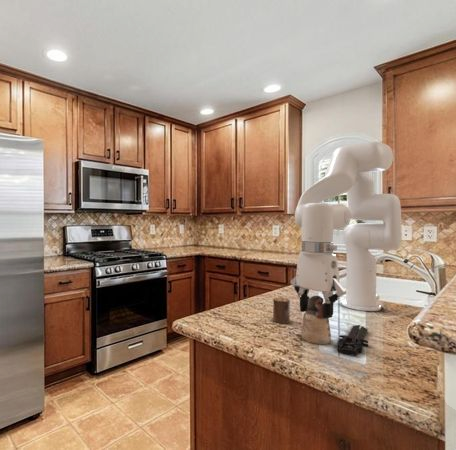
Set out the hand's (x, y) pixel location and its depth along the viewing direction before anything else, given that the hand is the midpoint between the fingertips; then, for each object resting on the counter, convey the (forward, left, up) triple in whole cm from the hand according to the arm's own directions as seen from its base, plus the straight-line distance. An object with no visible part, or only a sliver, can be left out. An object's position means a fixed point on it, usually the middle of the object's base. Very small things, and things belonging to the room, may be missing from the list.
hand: (315, 313), depth 85 cm
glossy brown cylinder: (-5, -15, -7) cm, 17 cm away
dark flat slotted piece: (-9, +5, -7) cm, 13 cm away
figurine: (0, 0, -7) cm, 7 cm away
